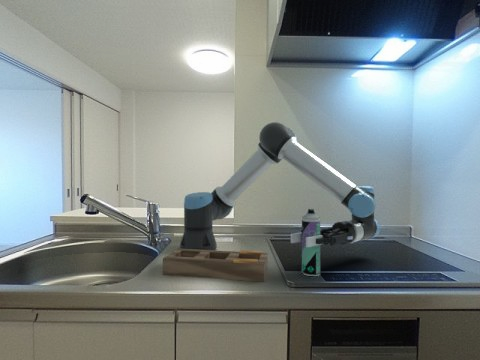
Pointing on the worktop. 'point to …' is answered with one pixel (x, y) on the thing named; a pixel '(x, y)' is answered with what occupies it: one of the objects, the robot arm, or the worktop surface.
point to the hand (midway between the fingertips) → (299, 240)
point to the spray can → (312, 253)
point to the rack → (217, 264)
